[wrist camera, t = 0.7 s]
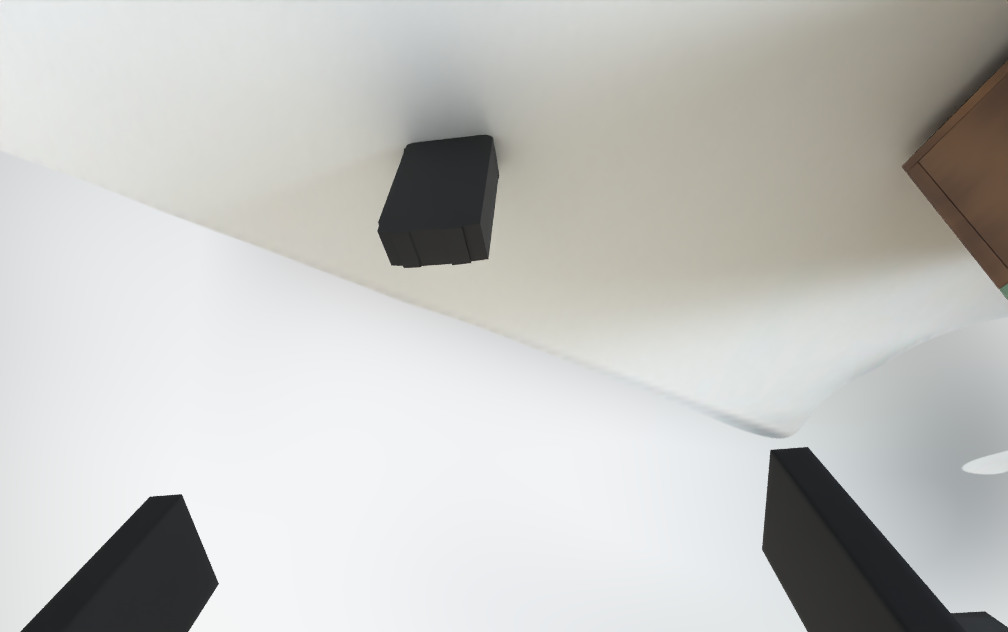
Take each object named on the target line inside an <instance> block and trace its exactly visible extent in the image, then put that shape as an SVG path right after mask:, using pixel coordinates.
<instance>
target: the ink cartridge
mask: <svg viewBox="0 0 1008 632" xmlns="http://www.w3.org/2000/svg"><path fill="white" fill-rule="evenodd" d="M498 178H499V170H498V165H497V159H496V153H495V148H494V142H493V138H492V137H491V136H488V135H478V136H469V137H461V138H452V139H443V140H435V141H426V142H418V143H411V144H408V145H407V146H406V148H405V149H404V154H403V156H402V159H401V162H400V165H399V167H398V170H397V173H396V176H395V178H394V181H393V184H392V186H391V189H390V192H389V195H388V197H387V200H386V203H385V205H384V208H383V211H382V214H381V216H380V219H379V222H378V223H379V228H378V234H379V236H380V239H381V241H382V243H383V246H384V248H385V251H386V253H387V256H388V258H389V260H390V263H391V265H395V266H403V267H404V268H412V267H421V266H427V265H441V264H452V265H457V264H466V263H471V261H477V260H484V259H488V257H489V249H490V241H491V233H492V225H493V217H494V208H495V200H496V192H497V184H498Z"/></svg>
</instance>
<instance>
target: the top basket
mask: <svg viewBox="0 0 1008 632" xmlns="http://www.w3.org/2000/svg"><path fill="white" fill-rule="evenodd" d="M1000 291H1001V292H1002V293H1003V295H1004V296H1005V297H1006V299H1008V284H1006V285H1005V286H1003V287H1002V288H1001V289H1000Z"/></svg>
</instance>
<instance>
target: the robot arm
mask: <svg viewBox="0 0 1008 632" xmlns="http://www.w3.org/2000/svg"><path fill="white" fill-rule="evenodd" d="M766 499H767V500H766V510H765V522H764V534H763V546H762V550H763V552H764V554H765V556H766V557H767V559H768V561H769V563H770V565H771V566H772V568H773V570H774V572H775V573H776V575H777V577H778V579H779V581H780V583H781V584H782V586H783V588H784V590H785V592H786V593H787V595H788V597H789V599H790V601H791V602H792V604H793V606H794V608H795V610H796V612H797V613H798V615H799V617H800V619H801V621H802V622H803V624H804V626H805V628H806V630H807V631H808V632H1008V627H1007V626H1005V625H1004V624H1002V623H1001V622H999V621H998V620H996V619H995V618H994V617H992V616H991V615H989V614H988V613H986V612H968V613H950V612H949V611H948V610H947V609H946V607H945V606H944V605H943V604H942V603H941V602H940V601H939V599H938V598H937V597H936V596H935V595H934V593H933V592H932V591H931V590H930V589H929V588H928V586H927V585H926V584H925V583H924V582H923V581H922V579H921V578H920V577H919V576H918V575H917V574H916V573H915V571H914V570H913V569H912V568H911V567H910V566H909V564H908V563H907V562H906V561H905V560H904V559H903V557H902V556H901V555H900V554H899V553H898V552H897V550H896V549H895V548H894V547H893V546H892V545H891V544H890V542H889V541H888V540H887V539H886V538H885V536H884V535H883V534H882V533H881V532H880V531H879V530H878V528H877V527H876V526H875V525H874V524H873V522H872V521H871V520H870V519H869V518H868V517H867V516H866V514H865V513H864V512H863V511H862V510H861V508H860V507H859V506H858V505H857V504H856V503H855V502H854V500H853V499H852V498H851V497H850V496H849V495H848V493H847V492H846V491H845V490H844V489H843V488H842V486H841V485H840V484H839V483H838V482H837V481H836V480H835V479H834V477H833V476H832V475H831V474H830V472H829V471H828V470H827V469H826V468H825V467H824V466H823V464H822V463H821V462H820V461H819V460H818V458H817V457H816V456H815V455H814V454H813V453H812V451H811V450H810V449H809V448H808V447H804V448H790V449H777V450H771V451H770V463H769V475H768V486H767V498H766ZM218 584H219V583H218V581H217V579H216V576H215V574H214V571H213V569H212V566H211V564H210V562H209V559H208V557H207V554H206V552H205V550H204V547H203V545H202V542H201V540H200V537H199V535H198V533H197V530H196V528H195V525H194V523H193V521H192V518H191V516H190V513H189V511H188V509H187V506H186V504H185V501H184V499H183V496H182V495H167V496H153V497H149V498H148V499H147V500H146V501H145V502H144V504H143V505H142V506H141V507H140V508H139V509H138V510H137V511H136V512H135V513H134V514H133V515H132V516H131V517H130V518H129V519H128V520H127V521H126V522H125V523H124V524H123V525H122V526H121V528H120V529H119V530H118V531H117V532H116V533H115V534H114V535H113V536H112V537H111V538H110V539H109V540H108V541H107V542H106V543H105V544H104V545H103V546H102V547H101V548H100V549H99V550H98V551H97V552H96V553H95V555H94V556H93V557H92V558H91V559H90V560H89V561H88V562H87V563H86V564H85V565H84V566H83V567H82V568H81V569H80V570H79V571H78V572H77V573H76V575H74V576H73V578H71V580H70V581H69V582H68V583H67V584H66V585H65V586H64V587H63V588H62V589H61V590H60V591H59V592H58V593H57V594H56V595H55V596H54V597H53V598H52V599H51V600H50V601H49V602H48V604H47V605H46V606H45V607H44V608H43V609H42V610H41V611H40V612H39V613H38V614H37V615H36V616H35V617H34V618H33V619H32V620H31V621H30V622H29V623H28V624H27V625H26V626H25V627H24V628H23V630H22V631H21V632H188V631H189V630H190V628H191V626H192V625H193V623H194V622H195V620H196V619H197V617H198V616H199V614H200V612H201V611H202V609H203V608H204V606H205V604H206V603H207V601H208V600H209V598H210V597H211V595H212V594H213V592H214V591H215V589H216V587H217V586H218Z"/></svg>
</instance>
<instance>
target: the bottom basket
mask: <svg viewBox="0 0 1008 632" xmlns="http://www.w3.org/2000/svg"><path fill="white" fill-rule="evenodd" d="M902 168H903V169H904V170H905V172H906V173H907V174H908V175H909V176H910V178H911V179H912V180H913V182H914V183H915V184H916V185H917V187H918V188H919V189H920V190H921V192H922V193H923V194H924V195H925V197H926V198H927V199H928V200H929V202H930V203H931V204H932V205H933V207H934V208H935V209H936V211H937V212H938V213H939V214H940V216H941V217H942V218H943V219H944V221H945V222H946V223H947V224H948V226H949V227H950V228H951V229H952V231H953V232H954V233H955V234H956V236H957V237H958V238H959V240H960V241H961V242H962V243H963V245H964V246H965V247H966V248H967V250H968V251H969V252H970V253H971V255H972V256H973V257H974V258H975V260H976V261H977V262H978V264H979V265H980V266H981V267H982V269H983V270H984V271H985V272H986V274H987V275H988V276H989V277H990V279H991V280H992V281H993V282H994V284H995V285H996V286H997V287H998V289H1001V288H1002V287H1003V286H1005V285H1006V284H1008V61H1007V62H1006V63H1005V64H1004V65H1003V66H1002V67H1001V68H1000V69H999V70H998V71H997V72H996V73H995V74H994V75H993V76H992V77H991V78H990V79H989V80H988V81H987V82H986V83H985V84H984V85H983V86H982V87H981V88H980V89H979V90H978V91H977V92H976V93H975V94H974V95H973V96H972V97H971V98H970V99H969V100H968V101H967V102H966V103H965V104H964V105H963V106H962V107H961V108H960V109H959V110H958V111H957V112H956V113H955V114H954V115H953V116H952V117H951V118H950V119H949V120H948V121H947V122H946V123H945V124H944V125H943V126H942V127H941V128H940V129H939V130H938V131H937V132H936V133H935V134H934V135H933V136H932V137H931V138H930V139H929V140H928V141H927V142H926V143H925V144H924V145H923V146H922V147H921V148H920V149H919V150H918V151H917V152H916V153H915V154H914V155H913V156H912V157H911V158H910V159H909V160H908V161H907V162H906V163H905V164H904V165H903V166H902Z"/></svg>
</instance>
